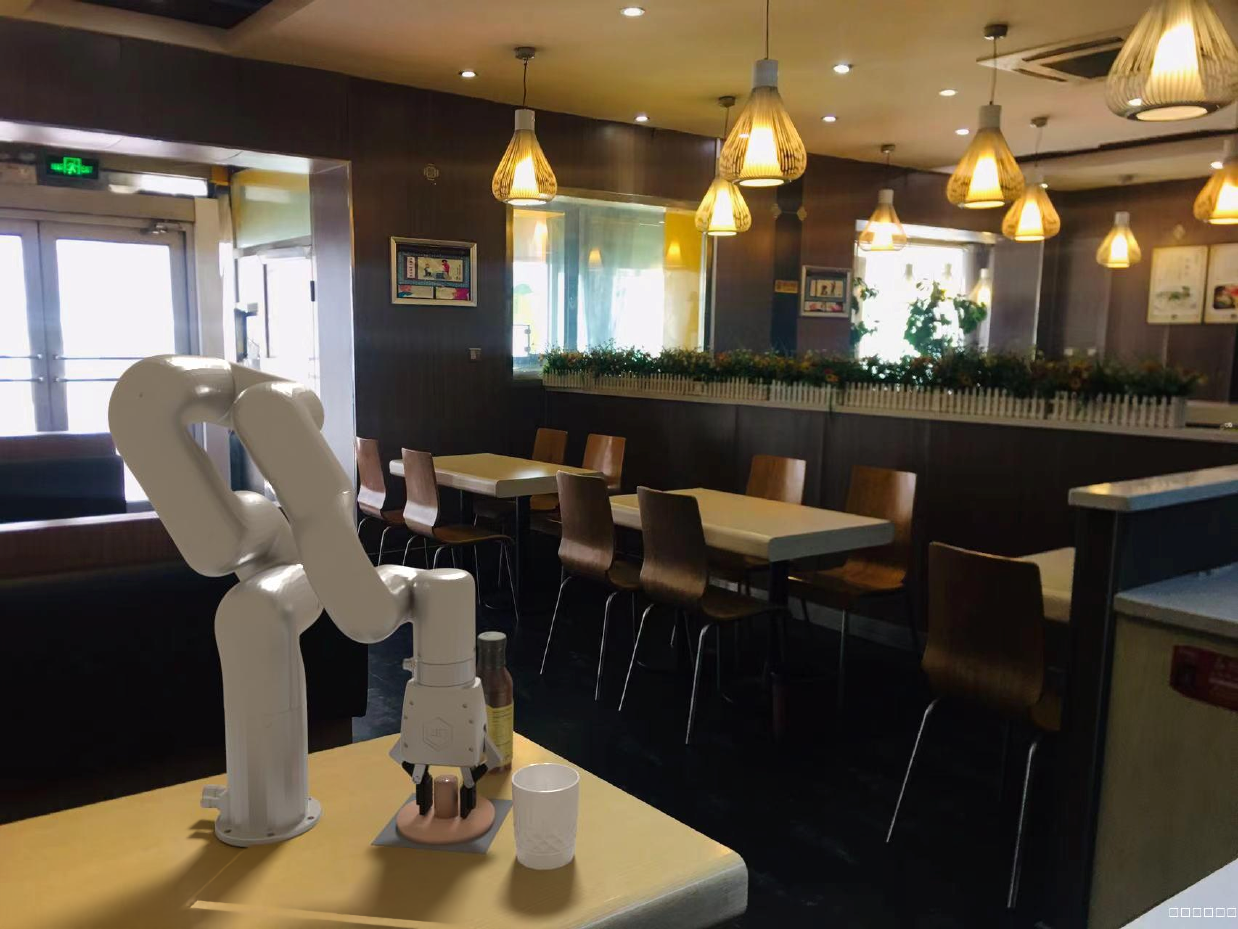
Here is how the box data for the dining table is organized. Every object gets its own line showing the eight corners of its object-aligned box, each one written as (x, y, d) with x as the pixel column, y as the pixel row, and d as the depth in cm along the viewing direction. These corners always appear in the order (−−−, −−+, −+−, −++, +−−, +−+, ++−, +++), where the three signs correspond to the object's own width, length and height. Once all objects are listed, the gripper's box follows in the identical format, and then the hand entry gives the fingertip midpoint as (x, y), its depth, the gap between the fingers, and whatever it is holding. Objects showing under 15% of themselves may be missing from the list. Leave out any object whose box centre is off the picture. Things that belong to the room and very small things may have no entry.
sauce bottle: (466, 763, 137) (465, 629, 135) (508, 758, 139) (508, 626, 137) (473, 782, 130) (472, 642, 129) (517, 777, 132) (517, 638, 130)
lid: (382, 841, 113) (381, 798, 112) (416, 796, 125) (416, 757, 124) (479, 848, 111) (479, 804, 111) (505, 802, 123) (504, 762, 122)
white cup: (569, 880, 105) (570, 794, 104) (502, 872, 107) (502, 788, 106) (586, 846, 113) (586, 766, 112) (523, 839, 115) (523, 760, 114)
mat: (370, 849, 112) (370, 844, 112) (412, 797, 126) (412, 792, 126) (485, 858, 110) (485, 853, 110) (514, 804, 124) (514, 800, 124)
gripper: (367, 676, 113) (369, 821, 115) (503, 683, 111) (504, 831, 113) (390, 657, 121) (392, 794, 123) (519, 664, 119) (519, 803, 120)
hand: (446, 810), depth 118 cm, fingers open, 4 cm apart
